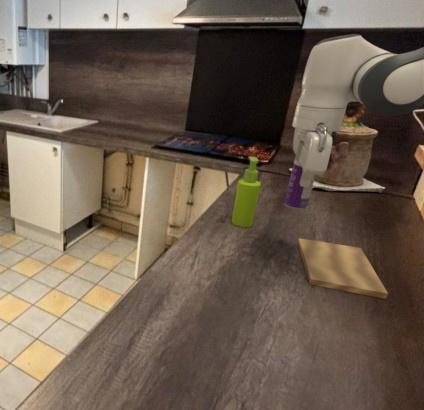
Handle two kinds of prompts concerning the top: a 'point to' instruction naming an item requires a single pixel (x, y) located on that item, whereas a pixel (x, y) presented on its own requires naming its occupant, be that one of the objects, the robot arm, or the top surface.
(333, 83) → the robot arm
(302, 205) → the container
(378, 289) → the cutting board
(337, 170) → the cookie jar
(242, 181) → the soap dispenser
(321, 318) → the top surface
